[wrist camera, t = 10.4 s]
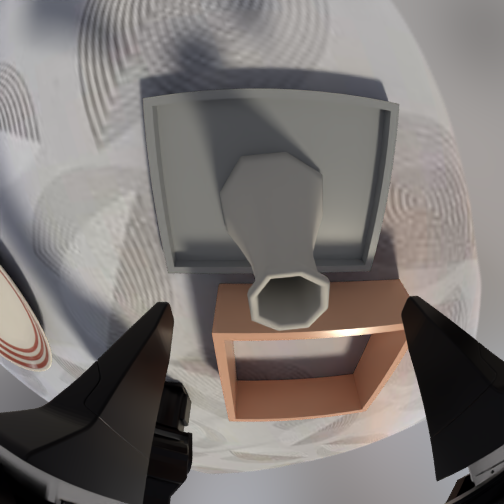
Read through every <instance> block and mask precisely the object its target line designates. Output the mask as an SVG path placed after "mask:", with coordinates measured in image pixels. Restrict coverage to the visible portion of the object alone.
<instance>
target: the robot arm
mask: <svg viewBox="0 0 504 504" xmlns="http://www.w3.org/2000/svg"><path fill="white" fill-rule="evenodd" d="M401 318H402V322H403V327H404V331H405V336H406V340H407V345H408V349H409V353H410V357H411V360H412V363H413V367H414V370H415V374H416V377H417V381H418V385H419V389H420V393H421V397H422V401H423V405H424V409H425V414H426V419H427V423H428V428H429V434H430V437H431V438H430V440H431V445H432V452H433V458H434V466H435V474H436V480H437V481H439V480H441V479H444V478H446V477H448V476H450V475H452V474H454V473H456V472H458V471H460V470H462V469H464V468H466V467H468V468H469V472H470V473H469V474H468V475H466V476H464V477H462V478H460V479H459V480H457V482H456V484H455V486H454V488H453V490H452V492H451V494H450V496H449V498H448V500H447V502H446V503H445V504H504V361H503V360H501V359H500V358H498V357H497V356H496V355H494V354H493V353H492V352H490V351H489V350H488V349H487V348H485V347H484V346H483V345H482V344H480V343H478V341H477V340H475V339H474V338H473V337H472V336H470V335H469V334H468V333H467V332H465V331H464V330H463V329H461V328H460V327H459V326H458V325H456V324H455V323H454V322H452V321H451V320H450V319H448V318H447V317H446V316H444V315H443V314H442V313H440V312H439V311H438V310H436V309H435V308H434V307H432V306H431V305H430V304H428V303H427V302H426V301H424V300H423V299H421V298H420V297H419V296H410V297H408V298H407V300H406V303H405V305H404V307H403V310H402V312H401ZM173 326H174V318H173V315H172V311H171V307H170V304H169V303H168V302H157V303H156V304H155V305H154V306H153V307H152V308H151V309H150V310H149V311H148V312H146V313H145V314H144V315H143V316H142V317H141V318H140V319H139V320H138V321H137V322H136V323H135V324H134V325H133V326H132V327H131V328H130V329H129V330H128V331H127V332H126V333H124V334H123V335H122V336H121V337H120V338H119V339H118V340H117V341H116V342H115V343H114V344H113V345H112V346H111V347H110V348H109V349H108V350H107V351H106V352H105V353H104V354H103V355H102V356H101V357H100V358H99V359H98V361H96V362H95V363H94V364H93V365H92V366H91V367H90V368H89V369H88V370H87V371H85V372H84V373H83V374H82V375H81V376H80V377H79V378H78V379H77V380H75V381H74V382H73V383H72V384H71V385H70V386H68V387H67V388H66V389H65V390H63V391H62V392H61V393H60V394H59V395H57V396H56V397H55V398H54V399H52V400H51V401H50V402H49V403H47V404H45V405H44V406H42V407H39V408H35V409H28V410H21V411H12V412H3V413H0V504H120V502H124V503H128V504H170V498H171V496H172V495H173V494H174V492H175V491H176V490H177V489H178V488H179V487H180V486H181V485H182V484H183V483H184V481H185V480H186V478H187V474H188V473H189V471H190V469H191V465H192V433H189V432H188V433H186V432H183V431H184V426H188V423H189V416H190V409H191V400H190V398H189V396H188V394H186V391H185V389H184V387H183V385H182V384H179V383H168V382H165V377H166V373H167V369H168V364H169V359H170V351H171V342H172V334H173Z"/></svg>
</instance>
